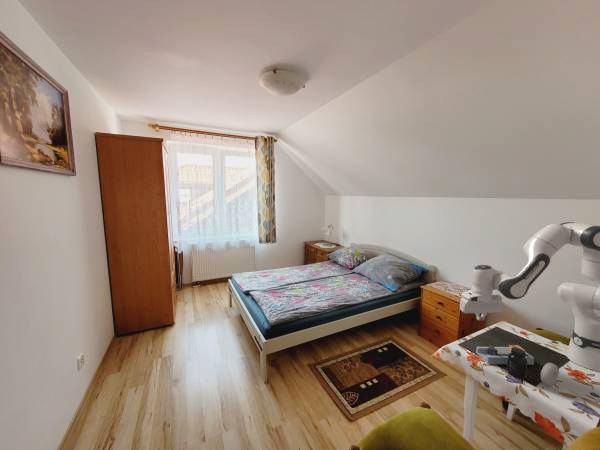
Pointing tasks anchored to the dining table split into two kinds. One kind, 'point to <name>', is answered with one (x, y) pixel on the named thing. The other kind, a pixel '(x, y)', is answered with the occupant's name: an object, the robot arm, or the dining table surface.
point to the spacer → (515, 347)
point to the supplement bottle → (517, 363)
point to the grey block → (498, 351)
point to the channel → (499, 359)
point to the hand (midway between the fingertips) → (480, 319)
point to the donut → (549, 374)
